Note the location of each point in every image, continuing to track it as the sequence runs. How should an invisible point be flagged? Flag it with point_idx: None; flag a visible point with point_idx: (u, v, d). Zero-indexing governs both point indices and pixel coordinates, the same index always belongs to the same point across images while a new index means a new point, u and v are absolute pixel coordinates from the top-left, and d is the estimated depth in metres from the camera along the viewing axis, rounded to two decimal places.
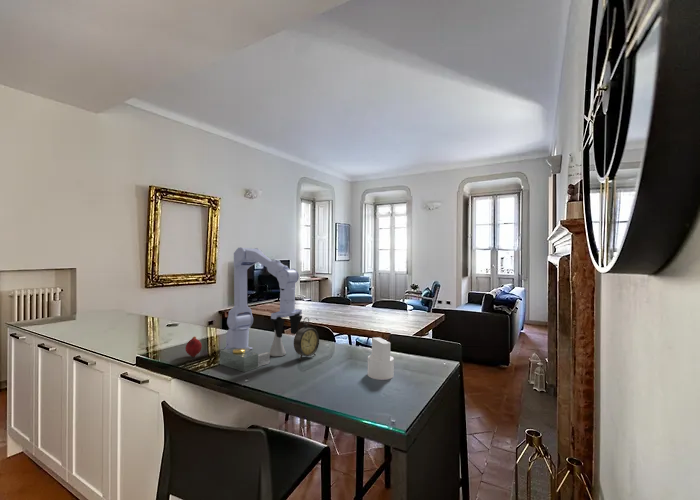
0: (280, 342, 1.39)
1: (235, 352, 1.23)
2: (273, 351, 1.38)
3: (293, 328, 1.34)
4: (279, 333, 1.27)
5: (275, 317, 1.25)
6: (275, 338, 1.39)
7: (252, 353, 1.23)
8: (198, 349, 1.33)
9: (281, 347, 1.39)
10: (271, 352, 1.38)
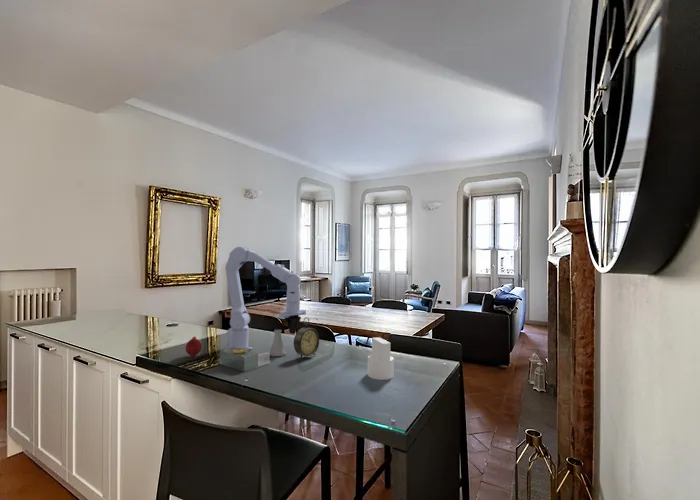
0: (280, 342, 1.39)
1: (235, 352, 1.23)
2: (273, 351, 1.38)
3: None
4: (292, 330, 1.46)
5: (282, 317, 1.41)
6: (275, 338, 1.39)
7: (252, 353, 1.23)
8: (198, 349, 1.33)
9: (281, 347, 1.39)
10: (271, 352, 1.38)
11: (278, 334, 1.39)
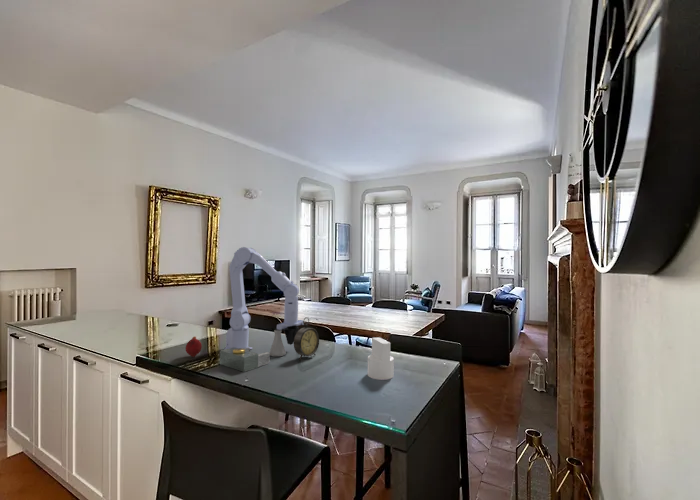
0: (280, 342, 1.39)
1: (235, 352, 1.23)
2: (273, 351, 1.38)
3: None
4: (290, 340, 1.45)
5: (280, 328, 1.40)
6: (275, 338, 1.39)
7: (252, 353, 1.23)
8: (198, 349, 1.33)
9: (281, 347, 1.39)
10: (271, 352, 1.38)
11: (278, 334, 1.39)
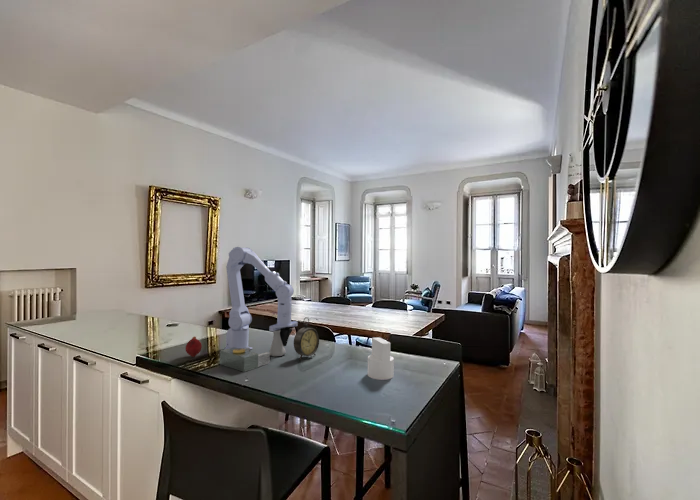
0: (279, 342, 1.39)
1: (235, 352, 1.23)
2: (272, 351, 1.37)
3: None
4: (283, 342, 1.42)
5: (273, 329, 1.37)
6: (274, 338, 1.38)
7: (252, 353, 1.23)
8: (198, 349, 1.33)
9: (281, 346, 1.38)
10: (271, 352, 1.38)
11: (277, 334, 1.38)
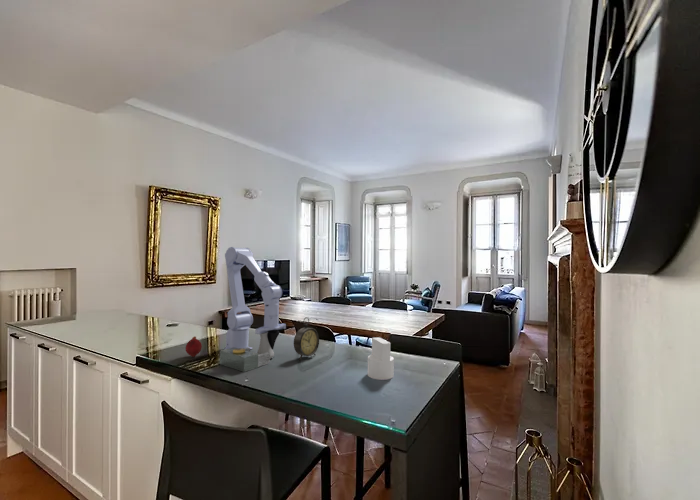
0: (267, 344, 1.33)
1: (235, 352, 1.23)
2: None
3: (271, 343, 1.37)
4: (270, 345, 1.36)
5: (259, 332, 1.31)
6: (261, 341, 1.33)
7: (252, 353, 1.23)
8: (198, 349, 1.33)
9: (268, 350, 1.33)
10: None
11: (264, 336, 1.33)
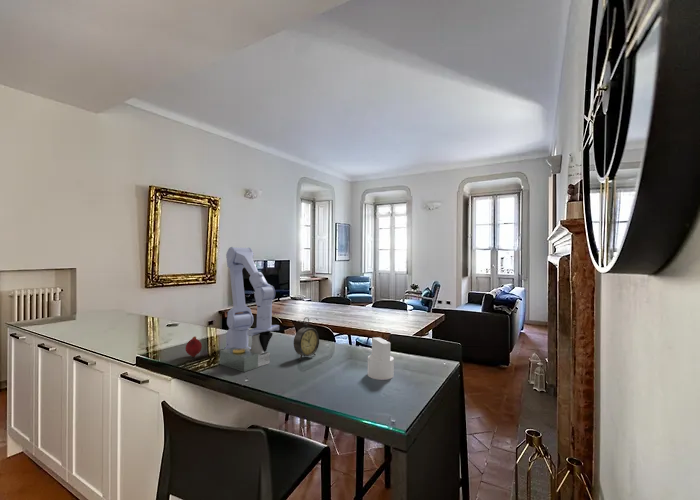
0: (258, 347, 1.30)
1: (235, 352, 1.23)
2: None
3: None
4: (263, 347, 1.33)
5: (251, 334, 1.28)
6: (253, 343, 1.30)
7: (252, 353, 1.23)
8: (198, 349, 1.33)
9: (260, 352, 1.30)
10: None
11: (256, 338, 1.30)
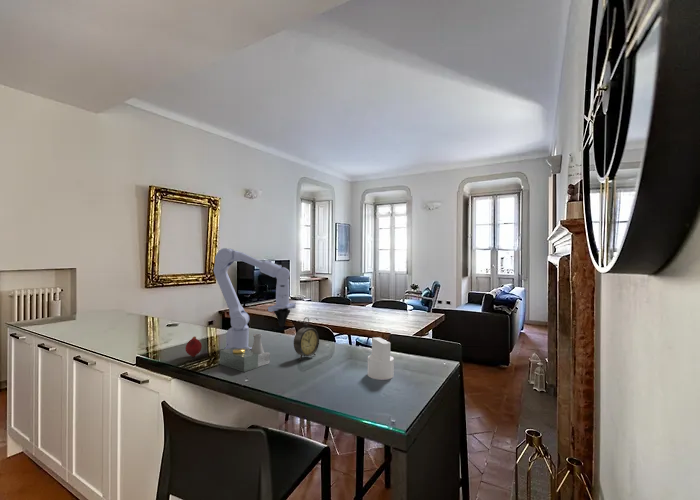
0: (260, 347, 1.30)
1: (235, 352, 1.23)
2: None
3: None
4: (281, 323, 1.48)
5: (271, 310, 1.43)
6: (254, 343, 1.30)
7: (252, 353, 1.23)
8: (198, 349, 1.33)
9: (260, 353, 1.30)
10: None
11: (257, 339, 1.31)
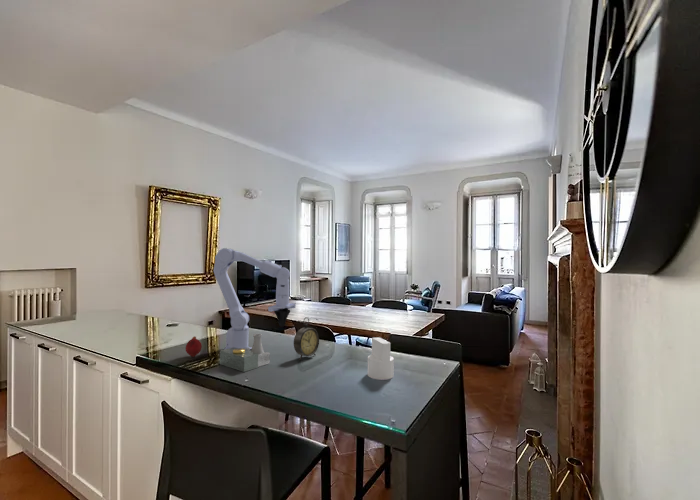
0: (260, 347, 1.30)
1: (235, 352, 1.23)
2: None
3: None
4: (281, 323, 1.48)
5: (272, 310, 1.43)
6: (254, 343, 1.30)
7: (252, 353, 1.23)
8: (198, 349, 1.33)
9: (260, 353, 1.30)
10: None
11: (257, 339, 1.31)
